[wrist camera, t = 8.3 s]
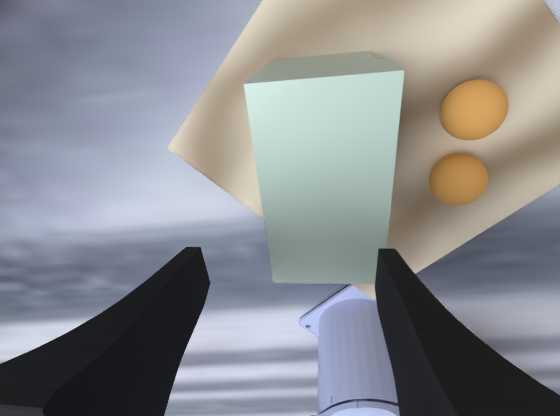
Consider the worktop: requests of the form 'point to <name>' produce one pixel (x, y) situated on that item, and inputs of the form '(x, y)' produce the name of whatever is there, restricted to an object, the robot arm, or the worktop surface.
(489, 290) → the worktop surface
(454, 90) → the marble
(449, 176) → the marble
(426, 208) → the birch board
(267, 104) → the sage container
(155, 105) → the worktop surface
